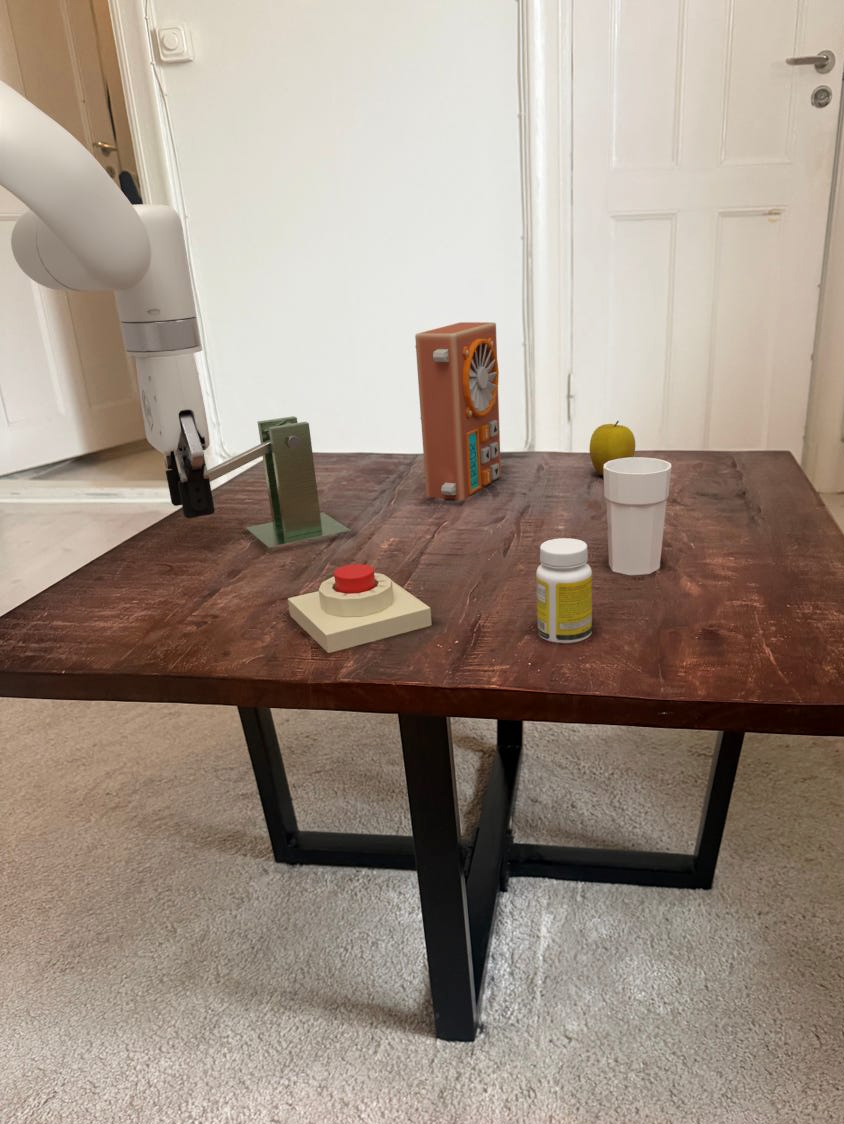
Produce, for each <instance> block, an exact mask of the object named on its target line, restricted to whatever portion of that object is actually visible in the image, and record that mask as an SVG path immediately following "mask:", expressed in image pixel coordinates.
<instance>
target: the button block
mask: <svg viewBox="0 0 844 1124" xmlns="http://www.w3.org/2000/svg"><path fill="white" fill-rule="evenodd" d="M374 575H375V585H376V587H375V588H373V589H372V590H370V591H366V592H362V593H354V594H345V593H340V592H337V591H336V586H335V578H334V576H332V577H330V578H328V579H326V580H324V581H322V582H321V584H320V586H319V588H318V590H317V591H313V592H309V593H305V594H301V595H296V596H291V597H288V598H287V604H288V610H289V612H288V613H289V616H290V617H291V618H292V619H293V620H294V621H295V622H296V623H297V624H298V625H299V626H300V627H301V628H302V629H303V630H304V631H305V632H306V633H307V634H308V635H309V636H310V637H311V638H312V639H313V640H314V641H315V642H316V643H317V644H318V645H319V646H320V647H321V648H322V649H323V650H324V651H325V652H326V653H328V654H331V653H334V652H338V651H342V650H345V649H350V648H353V647H357V646H360V645H361V646H362V645H365V644H367V643H372V642H375V641H380V640H383V639H386V638H390V637H394V636H398V635H401V634H405V633H409V632H413V631H416V630H420V629H424V628H427V627H431V626H432V625H433V624H432V609H431V607H430V606H428V605H427V604H425V603H424V602H423V601H421V599H419V598H417V597H416V596H414V595H413V594H412V593H410V592H409V591H407V589H404V588H403V587H402V586H400V585H398V583H396V582H394V581H393V580H392V578H389V577H388V576H387V575H386V574H383V573H378V572H374Z"/></svg>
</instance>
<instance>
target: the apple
mask: <svg viewBox="0 0 844 1124" xmlns="http://www.w3.org/2000/svg"><path fill="white" fill-rule="evenodd" d="M619 421H620V420H617V421H616V422H615V423H606V424H602V425H600V426H598V427H596V428H595V430H594V431H593V433H592V434H591V437H590V442H589V456H590V460H591V463H592V465H593V467H594V469H595V471H596V472H597V474H598V475H600V476H602V477H604V470H603V467H604V464H605V463H607V462H608V461H611V460H615V459H621V458H629V457H635V456H634V455H635V451H636V439H635V435H634V433H633V431H632V430H631V429H630V428H629V427H628V426H625V425H623V424H622V425H621V424H620V425H619V424H618V423H619Z"/></svg>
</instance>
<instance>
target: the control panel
mask: <svg viewBox="0 0 844 1124" xmlns="http://www.w3.org/2000/svg"><path fill="white" fill-rule="evenodd" d="M414 338H415V339H414V340H415V353H416V355H415V356H416V367H417V369H416V370H417V383H418V384H417V385H418V396H419V397H418V398H419V410H420V411H419V412H420V417H419V419H420V423H421V438H422V439H421V440H422V452H423V467H424V481H425V494H426V498H433V499H443V500H455V501H464V500H466V499H467V498H469V497H470V496H472V495H474V494H476V493H477V492H479V491H480V490H481V489H483V488H484V487H487V486H488V485H490V484H491V483H492V482H494V481H495V480H497V479H499V478H500V477H502V467H501V436H500V433H501V432H500V404H499V401H500V399H499V377H500V376H499V375H500V374H499V373H500V372H499V362H498V346H497V345H498V343H497V341H498V340H497V323H496V322H493V321H491V322H488V321H485V322H483V321H482V322H480V321H479V322H477V321H475V322H474V321H473V322H472V321H471V322H470V321H467V322H464V321H461V322H456V323H452V324H449V325H445V326H441V327H437V328H434V329H433V328H432V329H429V330H425V331H422V332H421V331H420V332H418V333H416V334H415V336H414Z"/></svg>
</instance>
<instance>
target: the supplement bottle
mask: <svg viewBox="0 0 844 1124" xmlns="http://www.w3.org/2000/svg"><path fill="white" fill-rule="evenodd" d="M588 554H589V553H588V544H587V543H586V542H585V541H583V540H581V539H577V538H569V537H567V538H566V537H560V538H553V539H549V540H546V541H544V542H543V543H541V544H540V546H539V562H540V565H539V566H537V569H536V572H535V583H536V584H535V587H536V619H537V620H536V621H537V622H536V623H537V634H538V636H539V637H540V638H542V639H544V640H546V641H549V642H551V643H552V642H553V643H558V644H559V643H560V644H570V643H571V644H572V643H576V642H581V641H584V640H586V639H588V638H589V637H590V636H591V635H592V633H593V570H592V567H591V566H590V565H589V564H588V563H587V562H588V559H589V555H588Z"/></svg>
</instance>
